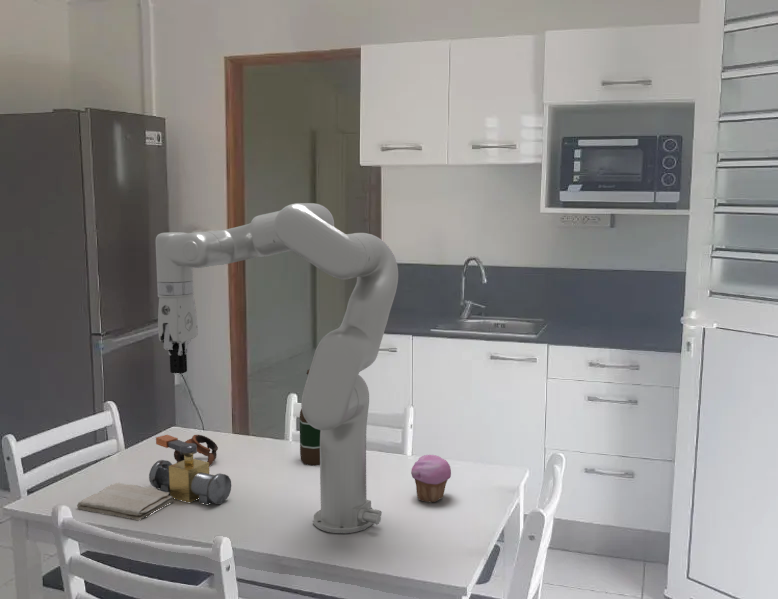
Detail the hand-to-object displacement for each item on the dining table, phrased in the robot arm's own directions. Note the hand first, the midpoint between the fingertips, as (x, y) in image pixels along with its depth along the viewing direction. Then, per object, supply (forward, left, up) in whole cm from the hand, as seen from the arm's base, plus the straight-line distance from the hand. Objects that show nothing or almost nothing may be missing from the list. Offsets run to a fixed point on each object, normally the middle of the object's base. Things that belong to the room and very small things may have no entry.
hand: (178, 372), depth 168 cm
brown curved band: (+15, -18, -29) cm, 38 cm away
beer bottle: (-10, -36, -29) cm, 47 cm away
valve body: (0, -2, -29) cm, 29 cm away
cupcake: (-48, -28, -29) cm, 63 cm away
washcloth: (+8, +9, -30) cm, 32 cm away
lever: (+5, -3, -19) cm, 20 cm away
